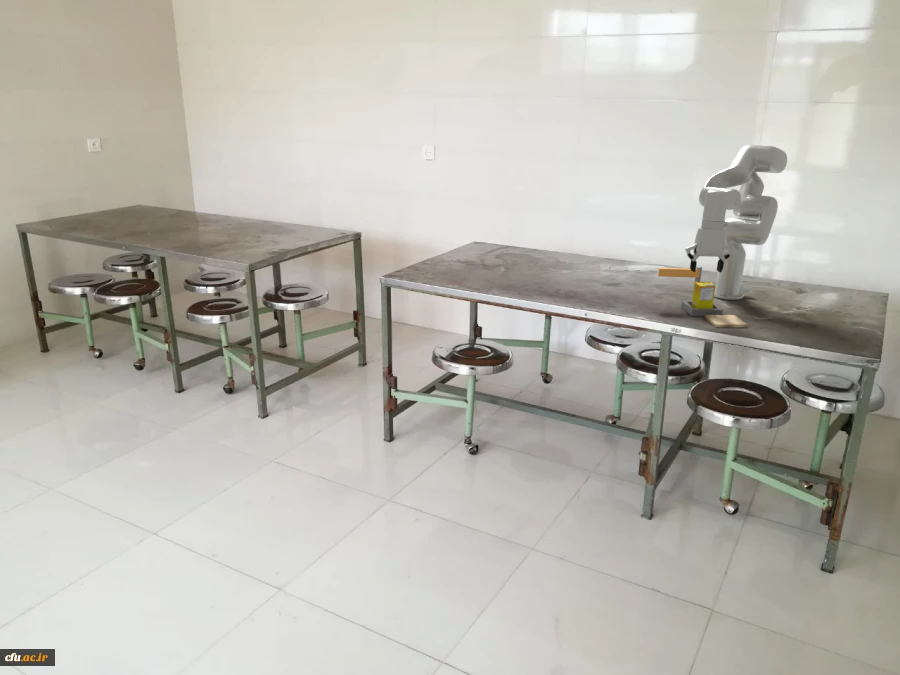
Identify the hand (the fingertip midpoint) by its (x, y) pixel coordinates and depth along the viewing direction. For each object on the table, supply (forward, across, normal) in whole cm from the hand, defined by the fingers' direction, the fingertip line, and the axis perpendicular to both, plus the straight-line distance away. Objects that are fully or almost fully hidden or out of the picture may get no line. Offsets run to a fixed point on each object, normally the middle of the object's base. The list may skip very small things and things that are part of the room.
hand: (706, 271), depth 250 cm
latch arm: (+15, +6, -9) cm, 19 cm away
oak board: (+16, -5, +12) cm, 21 cm away
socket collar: (+16, -1, -1) cm, 16 cm away
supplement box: (+16, -1, -1) cm, 16 cm away
